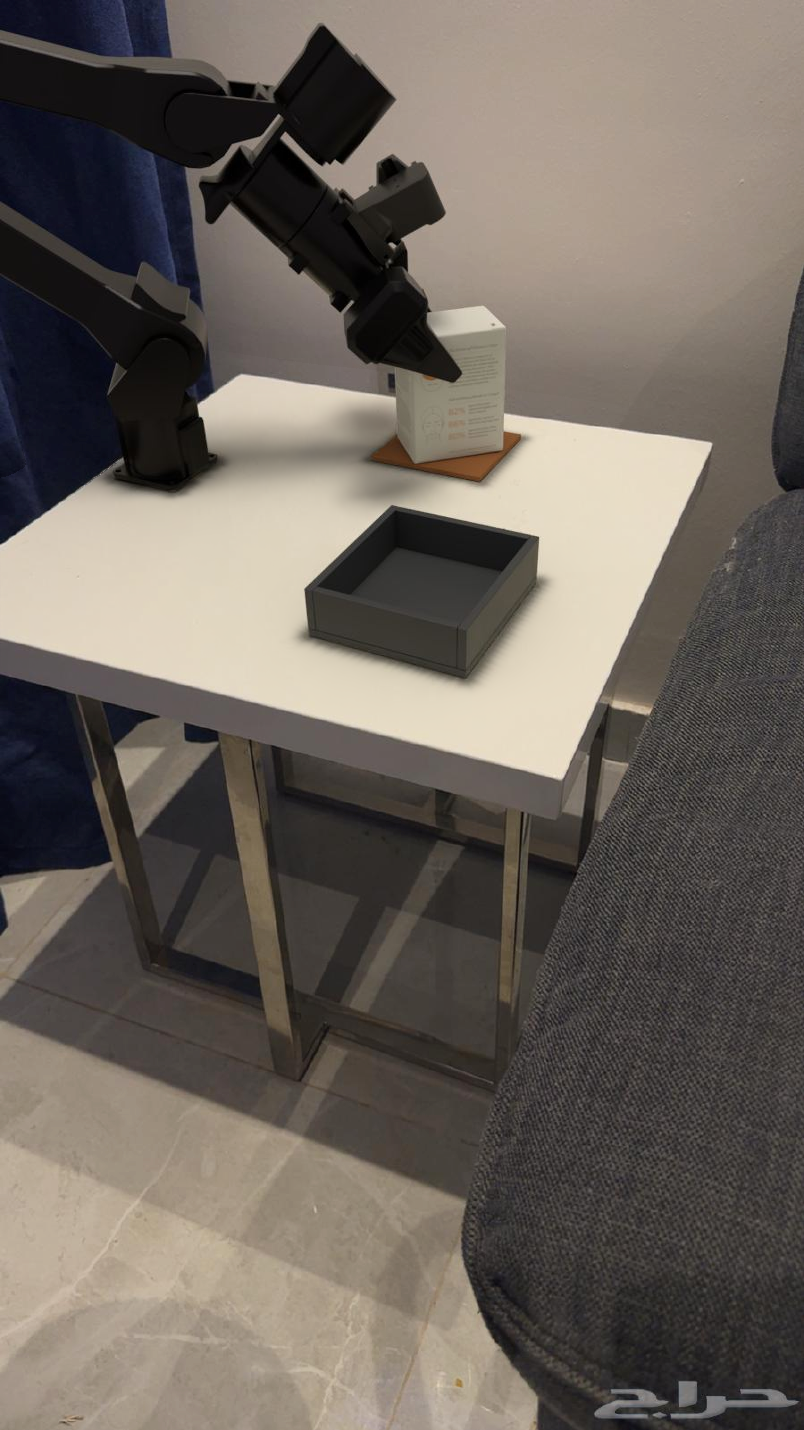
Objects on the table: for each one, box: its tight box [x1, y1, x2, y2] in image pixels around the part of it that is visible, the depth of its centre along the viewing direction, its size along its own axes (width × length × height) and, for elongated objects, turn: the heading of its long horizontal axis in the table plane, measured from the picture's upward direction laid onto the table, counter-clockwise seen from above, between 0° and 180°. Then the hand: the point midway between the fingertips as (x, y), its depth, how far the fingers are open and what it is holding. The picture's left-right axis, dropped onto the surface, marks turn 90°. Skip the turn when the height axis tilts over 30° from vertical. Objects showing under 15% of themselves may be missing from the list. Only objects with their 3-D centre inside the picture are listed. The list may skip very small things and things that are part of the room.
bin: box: [303, 504, 540, 679], centre depth 68 cm, size 11×12×4 cm
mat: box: [370, 431, 522, 483], centre depth 88 cm, size 10×9×1 cm
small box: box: [394, 305, 508, 464], centre depth 85 cm, size 8×6×10 cm
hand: (449, 356), depth 83 cm, fingers open, 9 cm apart
